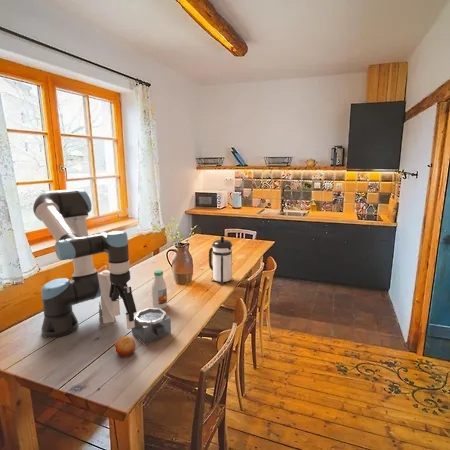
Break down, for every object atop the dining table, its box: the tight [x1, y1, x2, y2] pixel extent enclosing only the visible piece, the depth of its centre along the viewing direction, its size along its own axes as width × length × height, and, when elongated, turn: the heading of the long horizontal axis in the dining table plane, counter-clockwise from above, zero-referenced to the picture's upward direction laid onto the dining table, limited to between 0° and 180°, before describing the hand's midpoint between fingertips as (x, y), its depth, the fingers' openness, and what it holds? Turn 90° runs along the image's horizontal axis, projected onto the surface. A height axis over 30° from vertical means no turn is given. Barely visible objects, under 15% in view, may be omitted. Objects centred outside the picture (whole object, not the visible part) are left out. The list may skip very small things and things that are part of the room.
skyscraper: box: [97, 264, 116, 327], centre depth 151 cm, size 8×8×28 cm
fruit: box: [114, 335, 136, 358], centre depth 128 cm, size 8×8×8 cm
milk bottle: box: [151, 269, 168, 310], centre depth 168 cm, size 8×8×20 cm
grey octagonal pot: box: [131, 307, 172, 345], centre depth 142 cm, size 13×15×9 cm
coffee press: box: [208, 236, 234, 286], centre depth 203 cm, size 17×16×30 cm
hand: (123, 321), depth 126 cm, fingers open, 13 cm apart
